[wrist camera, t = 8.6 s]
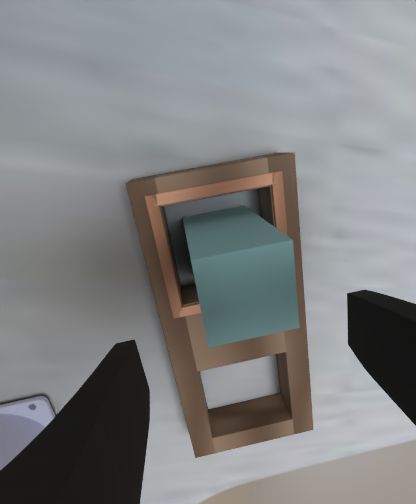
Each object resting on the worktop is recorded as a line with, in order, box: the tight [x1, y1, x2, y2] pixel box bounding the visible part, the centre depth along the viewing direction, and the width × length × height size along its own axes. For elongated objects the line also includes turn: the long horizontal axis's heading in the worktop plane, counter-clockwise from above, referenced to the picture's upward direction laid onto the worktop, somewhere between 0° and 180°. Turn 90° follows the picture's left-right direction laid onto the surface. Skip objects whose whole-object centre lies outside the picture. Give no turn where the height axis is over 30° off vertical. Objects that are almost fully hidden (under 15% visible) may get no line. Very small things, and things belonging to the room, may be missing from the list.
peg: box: [183, 206, 300, 348], centre depth 16 cm, size 4×4×8 cm
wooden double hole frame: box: [126, 153, 313, 458], centre depth 20 cm, size 9×20×3 cm, turn 10°
